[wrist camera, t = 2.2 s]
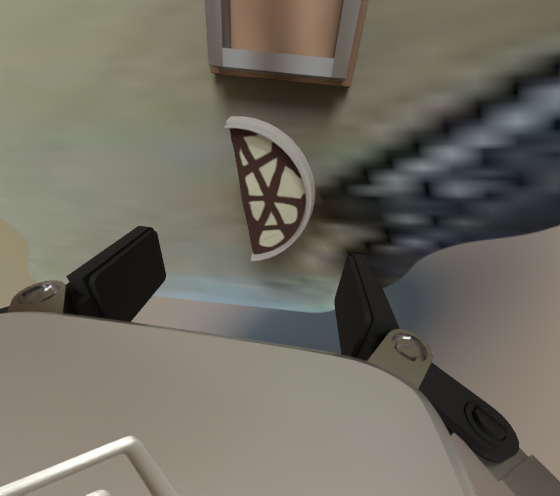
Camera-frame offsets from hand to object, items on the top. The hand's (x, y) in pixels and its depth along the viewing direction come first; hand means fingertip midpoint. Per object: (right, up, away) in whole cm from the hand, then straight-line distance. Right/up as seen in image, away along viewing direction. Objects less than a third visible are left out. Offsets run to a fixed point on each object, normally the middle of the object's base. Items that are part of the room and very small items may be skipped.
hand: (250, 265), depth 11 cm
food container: (+2, +10, +16) cm, 19 cm away
